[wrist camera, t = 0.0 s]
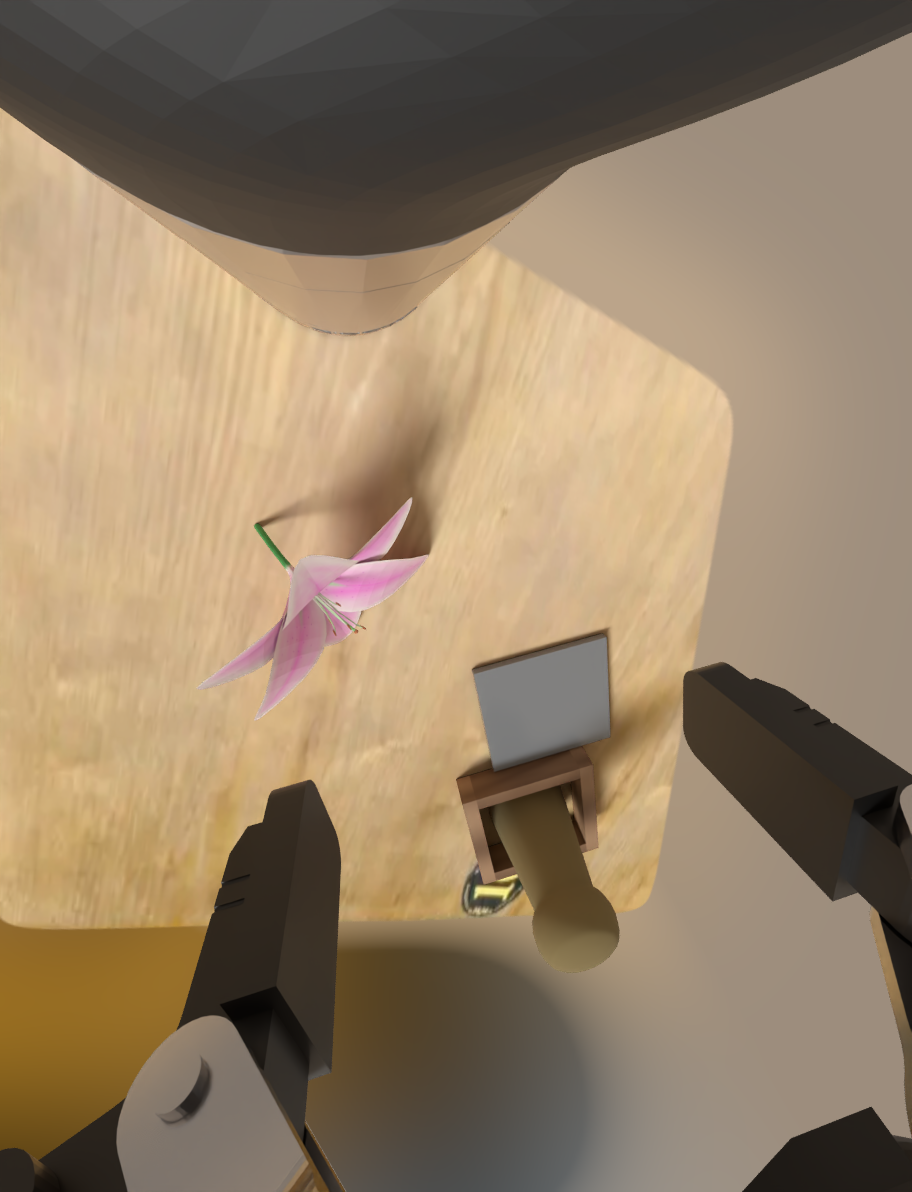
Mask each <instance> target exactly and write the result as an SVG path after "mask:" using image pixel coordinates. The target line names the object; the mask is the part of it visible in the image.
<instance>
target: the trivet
mask: <svg viewBox="0 0 912 1192" xmlns="http://www.w3.org/2000/svg"><path fill="white" fill-rule="evenodd" d="M472 672H473V677H474V682H475V686H476V691H477V696H478V701H479V705H480V710H481V715H482V720H483V724H484V729H485V734H486V739H487V743H488V748H489V753H490V757H491V762H492V767H493V770H494V772H496V771H499V770H502V769H506V768H509V767H512V766H516V765H519V764H522V763H526V762H529V761H532V760H536V759H539V758H542V757H546V756H549V755H552V754H556V753H559V752H562V751H566V750H569V749H572V748H576V747H579V746H582V745H586V744H589V743H592V742H596V741H599V740H602V739H606V738H609V737H610V714H609V688H608V662H607V637H606V636H605V635H604V634H603V633H602V634H599V635H595V636H592V637H588V638H584V639H581V640H577V641H574V642H570V643H566V644H563V645H559V646H556V647H552V648H548V649H545V650H541V651H538V652H534V653H530V654H527V655H523V656H520V657H516V658H512V659H509V660H505V661H502V662H498V663H494V664H491V665H487V666H484V667H480V668H476V669H473V670H472Z"/></svg>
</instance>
